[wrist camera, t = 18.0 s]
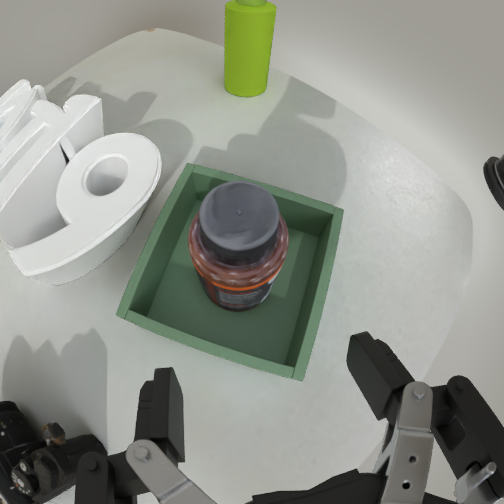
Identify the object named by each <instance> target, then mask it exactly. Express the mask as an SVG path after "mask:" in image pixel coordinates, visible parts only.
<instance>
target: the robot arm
mask: <svg viewBox="0 0 504 504" xmlns="http://www.w3.org/2000/svg"><path fill="white" fill-rule="evenodd" d="M493 169H494V174H495V177H496V179H497V181H498V183H499V185H500V187H501V189H502V191H503V192H504V155H503V156H502V157H501V158H500V159H499V160H497V161H496V162H495V163H494V165H493ZM347 366H348V369H349V371H350V373H351V375H352V376H353V378H354V380H355V381H356V383H357V385H358V387H359V388H360V390H361V392H362V393H363V395H364V397H365V399H366V400H367V402H368V404H369V406H370V407H371V409H372V411H373V413H374V414H375V416H376V418H377V420H381V419H383V418H387V420H388V423H387V426H386V431H385V435H384V439H383V443H382V446H381V450H380V454H379V457H378V460H377V462H376V464H375V466H374V469H373V471H372V473H359V472H358V470H357V469H354V470H351V471H348V472H346V473H343V474H340V475H337V476H334V477H332V478H330V479H328V480H326V481H325V482H323V483H321V484H319V485H317V486H315V487H313V488H312V489H309V490H302V491H276V492H271V493H265V494H260V495H254V496H252V498H253V500H252V501H250V502H247V503H245V504H496V503H498V502H499V501H501V500H503V499H504V427H503V426H502V424H501V423H500V421H499V420H498V418H497V417H496V415H495V414H494V413H493V411H492V410H491V408H490V407H489V405H488V404H487V403H486V401H485V400H484V399H483V397H482V396H481V395H480V393H479V392H478V390H477V389H476V388H475V387H474V385H473V384H472V383H471V381H470V380H469V379H468V378H466V377H464V376H459V375H458V376H454V377H452V378H451V379H450V380H449V381H448V383H447V385H442V386H436V387H429V386H428V385H427V384H425V383H423V382H419V381H415V380H414V379H413V377H412V376H411V375H410V373H409V372H408V371H407V369H406V368H405V367H404V365H403V364H402V363H401V362H400V360H399V359H398V358H397V356H396V355H395V354H393V351H392V350H391V349H390V347H389V346H388V345H387V344H386V343H384V342H383V341H381V340H379V339H376V340H374V339H373V338H372V336H371V335H370V334H369V333H368V332H367V331H366V332H362V333H358V334H355V335H352V336H351V337H350V342H349V348H348V353H347ZM456 416H457V417H456ZM461 424H462V425H461ZM463 427H464V428H463ZM430 430H431V432H430ZM434 437H435V439H436V441H437V443H438V445H439V446H440V448H441V450H442V452H443V454H444V456H445V457H446V459H447V461H448V463H449V464H450V467H451V469H452V471H453V473H454V474H455V476H456V478H457V482H456V484H455V491H454V496H455V497H456V502H454V501H451V500H447V499H444V498H441V497H438V496H435V495H432V494H429V493H427V492H425V488H426V483H427V478H428V473H429V468H430V462H431V456H432V449H433V442H434ZM178 462H185V451H184V417H183V394H182V390H181V387H180V385H179V382H178V380H177V377H176V374H175V372H174V369H173V368H172V367H169V368H157V369H155V372H154V380H153V381H146V382H145V383H144V385H143V386H142V388H141V390H140V396H139V403H138V411H137V420H136V429H135V438H134V441H133V443H131V444H130V445H129V446H128V448H127V450H126V451H124V452H121V453H118V454H114V455H110V456H106V457H104V456H103V455H102V454H100V453H98V452H88V453H85V454H84V455H83V456H82V457H81V458H80V459H79V461H78V467H77V477H76V489H75V504H137V495H139V494H143V493H147V492H152V493H153V494H154V496H155V497H156V498H157V499H158V502H159V503H160V504H217V503H216V502H215V501H213V500H212V499H211V498H210V497H209V496H208V495H207V494H205V493H204V492H203V491H202V490H201V489H200V488H199V487H198V486H197V485H196V484H195V483H193V482H192V481H191V480H190V479H188V478H187V477H186V476H185V475H184V474H183V473H182V472H181V471H180V470H179V469H178Z"/></svg>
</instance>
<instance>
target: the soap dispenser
mask: <svg viewBox="0 0 504 504" xmlns="http://www.w3.org/2000/svg"><path fill="white" fill-rule="evenodd" d="M275 16H276V6H275V5H274V4H272V3H270V2H267V1H266V0H233V1H230V2H227V3H226V4H225V89H226V90H227V91H228V92H229V93H231V94H233V95H236V96H242V97H252V96H257V95H259V94H261V93H263V92H264V91H265V90H266V86H267V78H268V70H269V63H270V55H271V46H272V39H273V31H274V23H275Z"/></svg>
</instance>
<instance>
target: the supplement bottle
mask: <svg viewBox="0 0 504 504" xmlns="http://www.w3.org/2000/svg"><path fill="white" fill-rule="evenodd" d="M288 245H289V234H288V229H287V225H286V222H285V221H284V219H283V217H282V216H281V214H280V213H279V208H278V205H277V202H276V201H275V199H274V197H273V196H272V195H271V194H270V192H269V191H267V190H266V189H265V188H263V187H262V186H260V185H258V184H255V183H253V182H249V181H242V180H236V181H230V182H226V183H222V184H221V185H219V186H217V187H215V188H214V189H212V190H211V191H210V192H209V193H208V194H207V195H206V197H205V198H204V200H203V201H202V204H201V207H200V210H199V211H198V213H197V214H196V215H195V217H194V219H193V221H192V223H191V225H190V229H189V234H188V246H189V252H190V256H191V259H192V262H193V264H194V267H195V269H196V272H197V274H198V277H199V279H200V282H201V284H202V286H203V289H204V291H205V293H206V294H207V296H208V297H209V298H210V300H211V301H212V302H213V303H215V304H216V305H217V306H219V307H220V308H222V309H225V310H228V311H234V312H241V311H247V310H250V309H252V308H254V307H256V306H258V305H259V304H260V303H261V302H263V300H264V299H265V298H266V297H267V296H268V294H269V292H270V290H271V288H272V286H273V284H274V282H275V280H276V278H277V276H278V274H279V272H280V269H281V267H282V265H283V263H284V260H285V258H286V255H287V251H288Z"/></svg>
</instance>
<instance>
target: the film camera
mask: <svg viewBox="0 0 504 504" xmlns="http://www.w3.org/2000/svg"><path fill="white" fill-rule="evenodd" d="M45 429H47V431H48V432H49V434H50V438H49V439H46V438H45V437H44V435H43V432H44V430H45ZM42 435H43V439H45V440H46V441H47V442H46V441H41V442H40V441H39V440H38V438H37V436H36V434H35V432H34V431H33V430H32V428H31V427H30V425H29V424H28V422H27V420H26V419H25V417H24V415H23V414H22V413H21V412H20V411H19V409H18V407H17V406H16V404H15V403H14V402H12V401H1V402H0V504H43V503H45V502H47V501H49V500H51V499H52V498H54V497H56V496H58V495H59V494H61V493H62V492H64V491H66V490H67V489H69V488H71V487H72V486H74V485H75V484H76V477H77V467H78V461H79V459H80V458H81V457H82V456H83V455H84V454H85V453H88V452H98V453H100V454H102V455H103V456H104V457H106V456H107V452H106V450H105V449H104V447H103V444H101V442H100V441H98V439H97V438H96V437H95V436H93V435H81V436H78V437H75V438H72V439H69V440H66V439H65V432H64V430H63V429H62V428H61V427H60V426H59V424H58V423H56V422H55V423H50V422H49V423H45V424H44V425H43V427H42Z"/></svg>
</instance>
